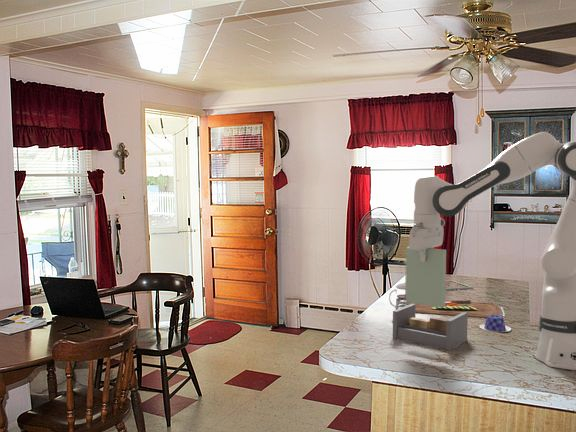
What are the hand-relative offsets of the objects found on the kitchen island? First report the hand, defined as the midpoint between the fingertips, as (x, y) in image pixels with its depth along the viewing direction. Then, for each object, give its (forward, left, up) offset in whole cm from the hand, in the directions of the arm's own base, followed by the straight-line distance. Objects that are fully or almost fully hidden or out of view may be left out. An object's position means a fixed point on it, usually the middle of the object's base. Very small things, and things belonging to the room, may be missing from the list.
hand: (425, 260), depth 195 cm
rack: (0, -4, -31) cm, 31 cm away
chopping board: (+15, -59, -32) cm, 69 cm away
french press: (+24, -29, -31) cm, 49 cm away
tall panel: (0, 0, -16) cm, 16 cm away
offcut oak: (+4, -4, -29) cm, 30 cm away
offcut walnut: (-4, -4, -29) cm, 30 cm away
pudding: (-12, -38, -31) cm, 51 cm away
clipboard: (+39, -104, -32) cm, 116 cm away
